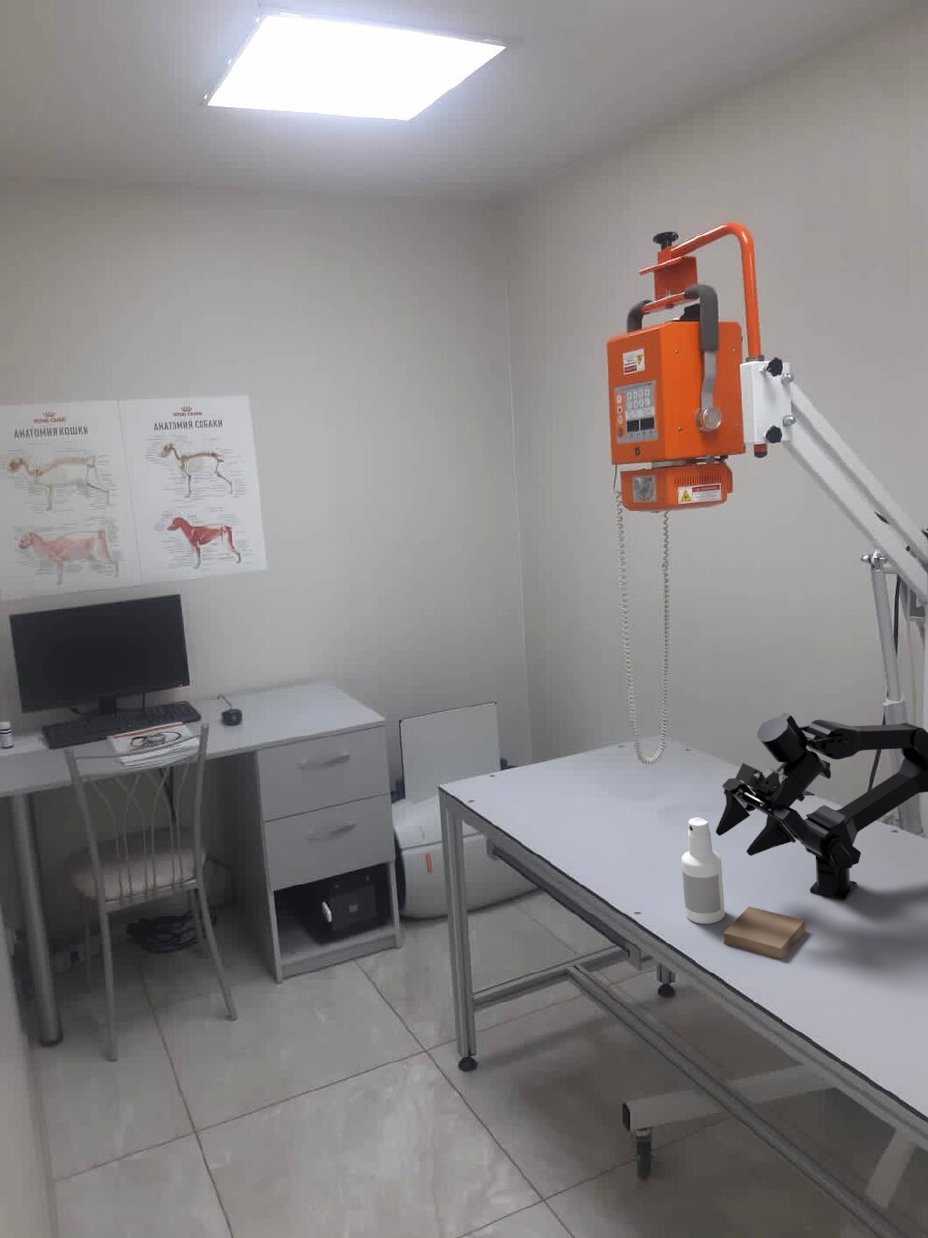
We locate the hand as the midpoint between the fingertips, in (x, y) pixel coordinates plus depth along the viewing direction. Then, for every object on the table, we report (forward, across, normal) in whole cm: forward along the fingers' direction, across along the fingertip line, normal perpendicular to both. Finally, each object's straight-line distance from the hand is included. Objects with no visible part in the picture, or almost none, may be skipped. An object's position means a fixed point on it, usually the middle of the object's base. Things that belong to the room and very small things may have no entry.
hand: (732, 843), depth 169 cm
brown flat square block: (+8, +7, +12) cm, 16 cm away
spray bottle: (+12, -4, +10) cm, 15 cm away
